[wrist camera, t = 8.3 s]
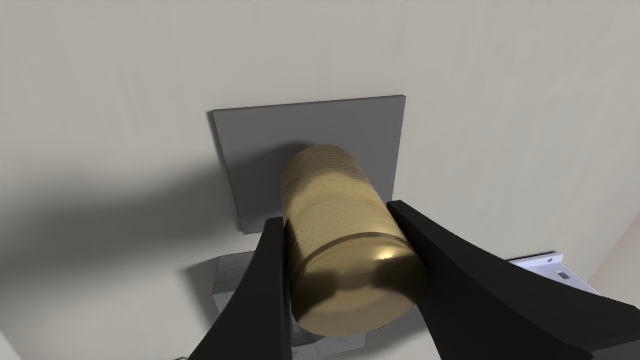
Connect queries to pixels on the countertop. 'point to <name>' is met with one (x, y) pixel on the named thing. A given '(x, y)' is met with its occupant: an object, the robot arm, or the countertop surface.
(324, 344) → the housing
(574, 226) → the countertop surface
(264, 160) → the rubber mat
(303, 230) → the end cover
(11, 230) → the countertop surface
